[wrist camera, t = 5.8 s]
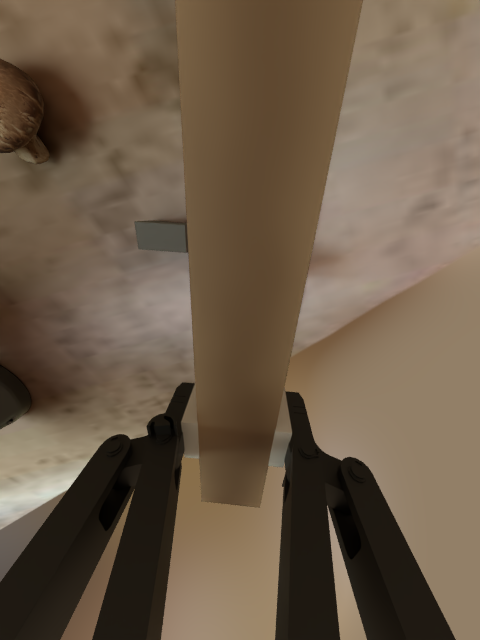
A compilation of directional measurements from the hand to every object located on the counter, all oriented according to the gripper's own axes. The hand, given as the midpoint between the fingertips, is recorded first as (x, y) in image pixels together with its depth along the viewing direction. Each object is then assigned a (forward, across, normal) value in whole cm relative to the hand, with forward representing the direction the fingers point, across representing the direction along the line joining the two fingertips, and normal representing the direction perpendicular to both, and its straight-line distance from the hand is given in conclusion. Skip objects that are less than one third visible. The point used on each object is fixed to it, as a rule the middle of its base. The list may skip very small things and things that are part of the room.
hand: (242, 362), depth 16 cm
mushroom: (+13, -23, +17) cm, 32 cm away
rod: (-3, 0, +5) cm, 6 cm away
